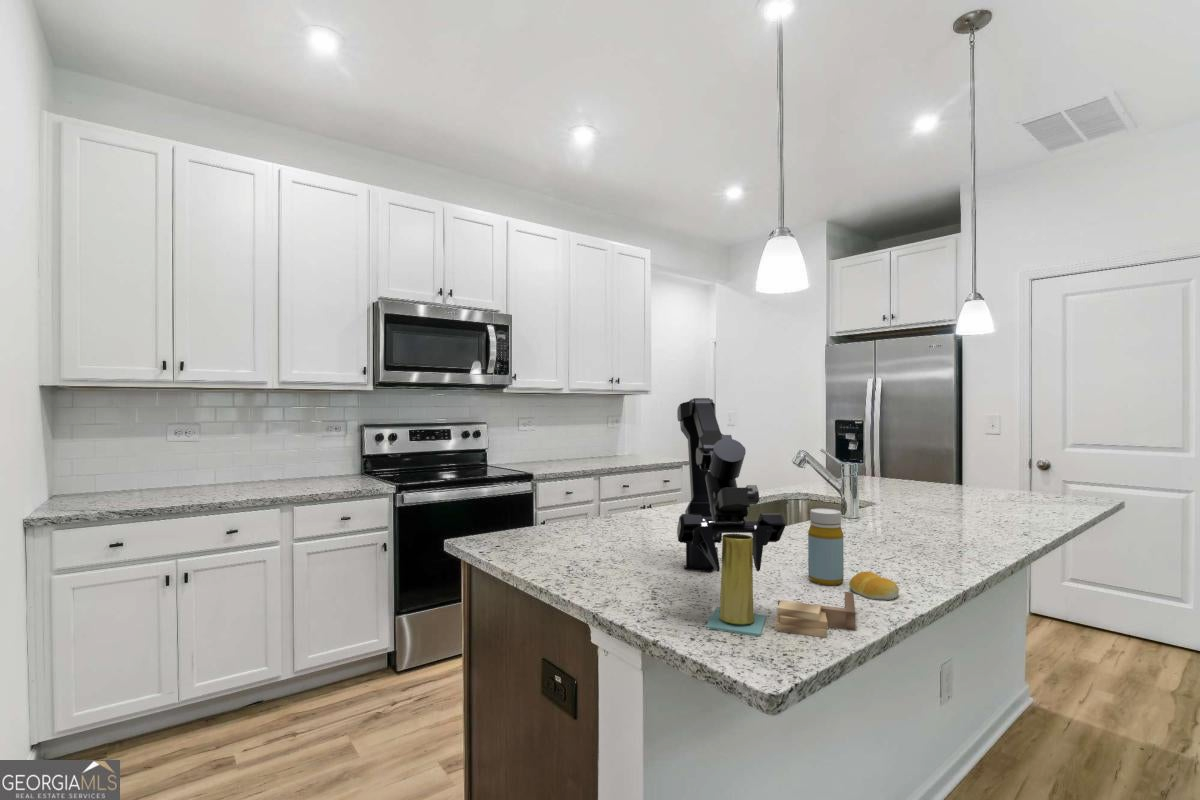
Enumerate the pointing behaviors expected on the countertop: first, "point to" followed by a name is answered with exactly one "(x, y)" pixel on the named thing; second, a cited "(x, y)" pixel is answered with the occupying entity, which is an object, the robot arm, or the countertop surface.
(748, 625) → the mat
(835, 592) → the countertop surface
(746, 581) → the vase
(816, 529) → the bottle
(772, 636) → the countertop surface
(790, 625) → the offcut rack
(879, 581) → the bread roll
